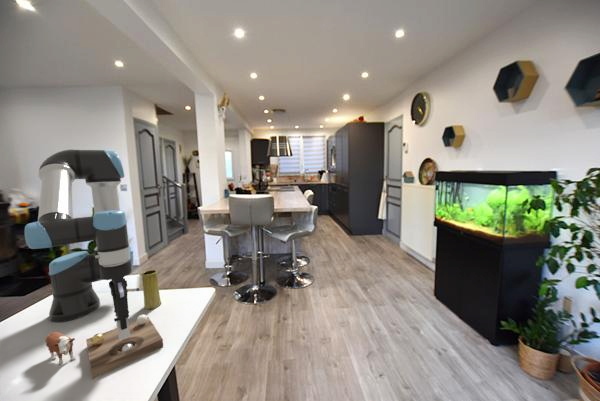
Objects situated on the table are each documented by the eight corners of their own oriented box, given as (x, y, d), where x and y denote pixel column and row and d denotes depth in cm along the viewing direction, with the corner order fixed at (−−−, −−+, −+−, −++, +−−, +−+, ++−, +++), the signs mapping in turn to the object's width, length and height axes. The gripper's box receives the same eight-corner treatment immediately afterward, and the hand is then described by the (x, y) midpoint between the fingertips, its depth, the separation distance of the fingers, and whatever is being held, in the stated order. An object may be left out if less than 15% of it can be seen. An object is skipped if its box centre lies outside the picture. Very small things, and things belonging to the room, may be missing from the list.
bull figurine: (60, 374, 67) (56, 346, 66) (45, 356, 74) (41, 331, 73) (81, 363, 71) (77, 336, 70) (65, 347, 78) (61, 323, 77)
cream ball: (136, 324, 85) (134, 315, 84) (146, 320, 87) (145, 311, 87) (138, 328, 82) (137, 319, 82) (149, 323, 85) (148, 315, 84)
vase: (151, 301, 105) (148, 269, 104) (164, 301, 104) (161, 269, 103) (140, 309, 99) (136, 275, 98) (154, 309, 98) (150, 275, 97)
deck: (87, 346, 78) (86, 339, 77) (148, 323, 89) (147, 316, 89) (92, 379, 65) (91, 370, 65) (163, 346, 77) (162, 338, 76)
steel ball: (119, 345, 73) (121, 349, 71) (132, 339, 75) (134, 344, 73) (120, 355, 73) (122, 360, 71) (133, 349, 76) (135, 354, 73)
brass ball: (91, 344, 75) (89, 334, 75) (104, 339, 77) (103, 329, 77) (91, 349, 73) (90, 339, 72) (105, 344, 75) (104, 334, 75)
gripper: (96, 261, 75) (106, 333, 77) (101, 272, 66) (112, 354, 68) (126, 255, 80) (134, 323, 83) (134, 264, 71) (143, 340, 73)
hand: (124, 337), depth 75 cm, fingers closed
